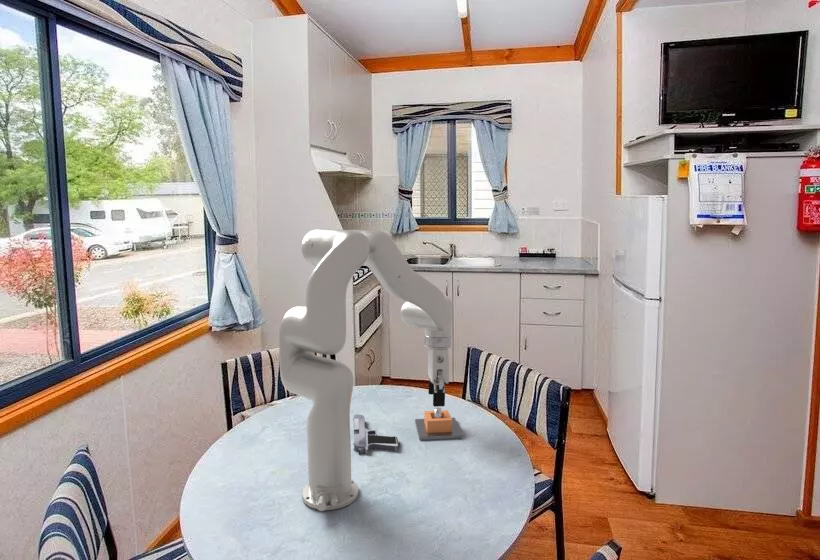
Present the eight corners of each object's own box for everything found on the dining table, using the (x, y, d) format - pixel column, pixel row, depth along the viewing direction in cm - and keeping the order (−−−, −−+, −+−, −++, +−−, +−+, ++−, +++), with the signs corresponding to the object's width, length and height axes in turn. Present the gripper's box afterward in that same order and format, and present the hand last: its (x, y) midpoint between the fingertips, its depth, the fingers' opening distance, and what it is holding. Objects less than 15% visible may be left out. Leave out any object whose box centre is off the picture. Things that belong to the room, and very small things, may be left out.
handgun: (392, 412, 161) (352, 414, 160) (399, 446, 139) (353, 449, 138) (392, 420, 161) (353, 421, 160) (399, 455, 139) (353, 457, 138)
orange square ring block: (452, 431, 150) (452, 420, 149) (427, 432, 149) (427, 421, 149) (447, 421, 157) (447, 410, 156) (424, 422, 156) (424, 411, 155)
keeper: (462, 438, 148) (462, 416, 147) (419, 440, 147) (419, 418, 146) (454, 420, 160) (454, 400, 159) (415, 422, 158) (415, 401, 157)
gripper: (456, 349, 141) (454, 411, 143) (446, 334, 158) (444, 389, 160) (428, 349, 140) (427, 411, 142) (421, 334, 157) (419, 390, 159)
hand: (436, 399), depth 151 cm, fingers open, 9 cm apart
